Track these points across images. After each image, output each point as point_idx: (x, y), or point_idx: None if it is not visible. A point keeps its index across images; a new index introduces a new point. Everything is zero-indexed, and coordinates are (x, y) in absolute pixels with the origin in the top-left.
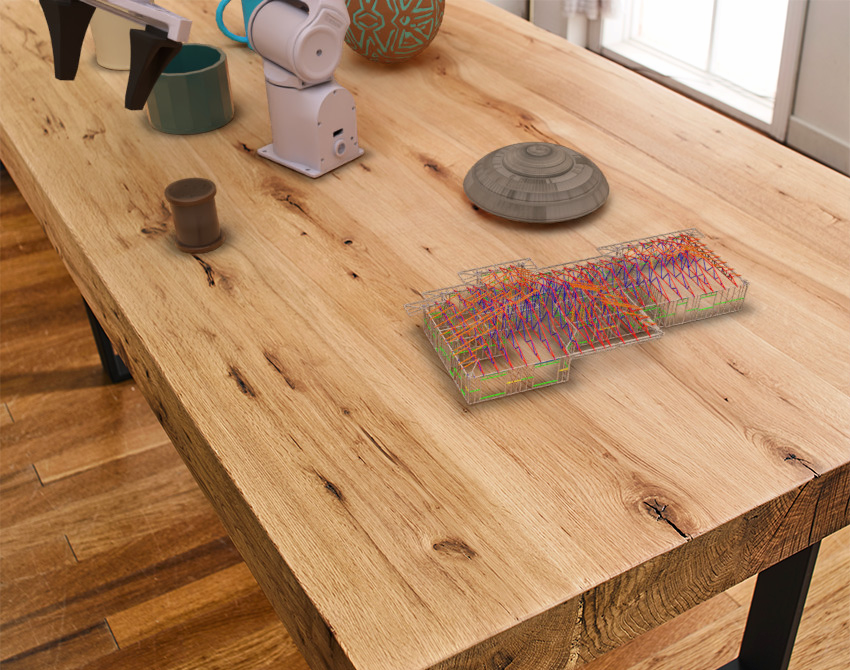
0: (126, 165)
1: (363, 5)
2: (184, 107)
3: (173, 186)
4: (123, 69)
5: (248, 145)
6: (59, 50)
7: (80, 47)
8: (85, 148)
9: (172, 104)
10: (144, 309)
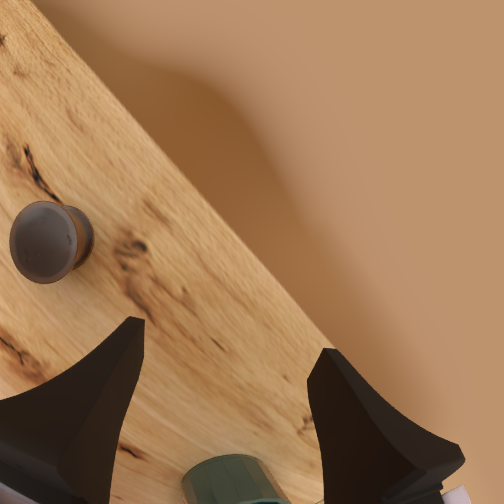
0: (243, 388)
1: None
2: (216, 480)
3: (68, 246)
4: (321, 501)
5: (130, 456)
6: (353, 387)
7: (321, 441)
8: (303, 401)
9: (230, 478)
10: (83, 88)
